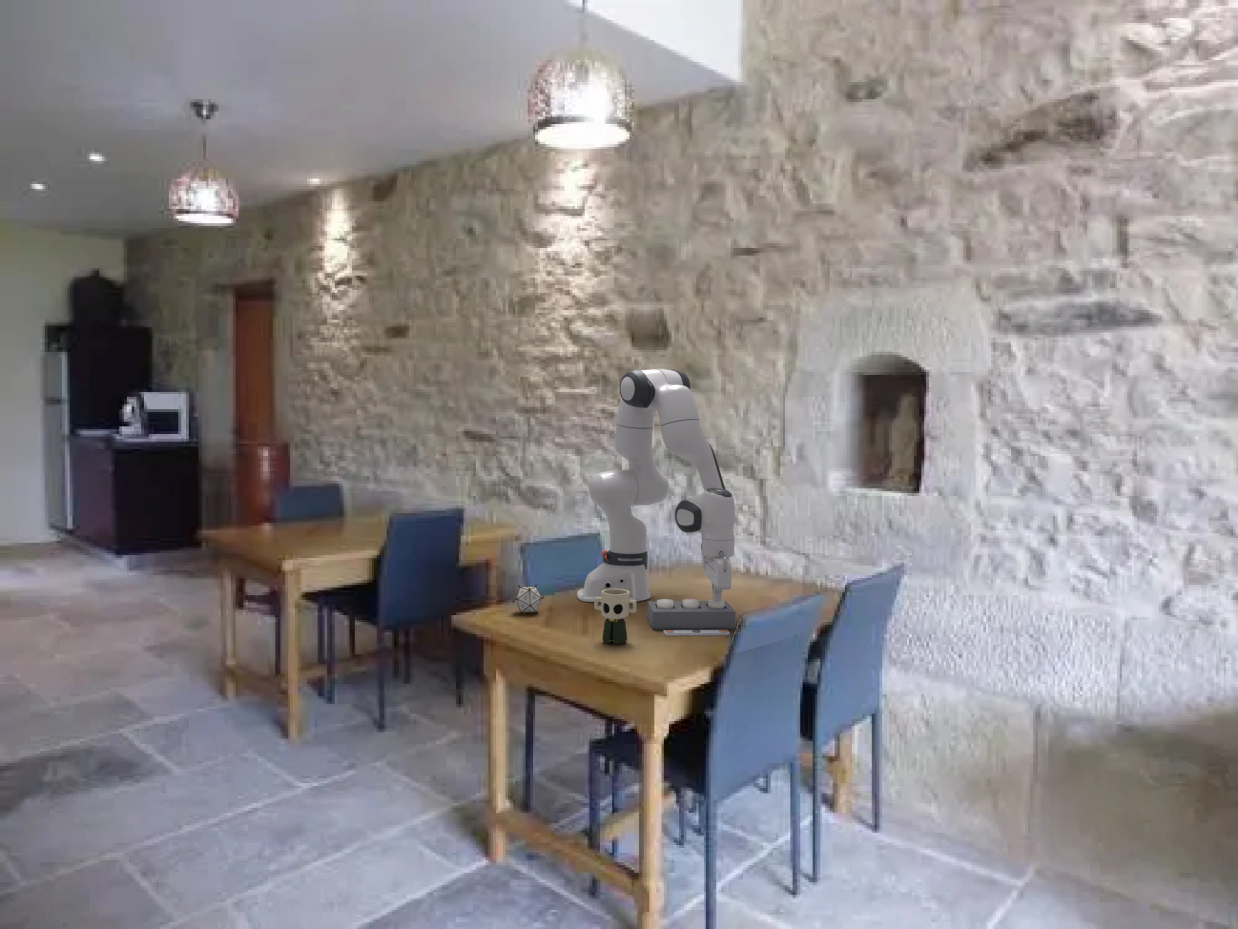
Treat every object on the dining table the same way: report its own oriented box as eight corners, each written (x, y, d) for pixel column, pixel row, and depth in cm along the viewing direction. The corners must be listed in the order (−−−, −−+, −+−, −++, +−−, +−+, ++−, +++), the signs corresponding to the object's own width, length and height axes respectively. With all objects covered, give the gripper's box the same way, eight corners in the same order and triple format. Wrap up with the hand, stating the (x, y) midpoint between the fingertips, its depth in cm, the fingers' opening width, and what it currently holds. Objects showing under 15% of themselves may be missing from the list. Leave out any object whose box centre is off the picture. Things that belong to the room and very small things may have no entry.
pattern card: (664, 635, 231) (664, 632, 231) (663, 632, 234) (663, 629, 234) (729, 635, 232) (729, 632, 232) (727, 632, 235) (727, 629, 235)
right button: (709, 613, 240) (709, 602, 240) (706, 609, 245) (706, 598, 245) (725, 613, 241) (726, 602, 241) (722, 609, 245) (722, 598, 245)
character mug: (589, 644, 222) (590, 592, 221) (597, 637, 229) (598, 586, 228) (632, 648, 219) (633, 596, 218) (639, 640, 226) (640, 590, 225)
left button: (658, 613, 239) (658, 602, 239) (655, 609, 244) (656, 599, 243) (674, 613, 240) (674, 602, 239) (671, 609, 244) (672, 599, 244)
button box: (652, 630, 236) (653, 611, 235) (647, 619, 247) (647, 601, 247) (735, 630, 238) (735, 611, 237) (725, 618, 249) (726, 601, 249)
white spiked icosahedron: (520, 626, 252) (500, 597, 253) (542, 611, 257) (523, 582, 258) (533, 617, 245) (512, 587, 246) (555, 602, 250) (535, 572, 251)
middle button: (683, 613, 240) (684, 602, 240) (681, 609, 244) (681, 599, 244) (700, 613, 240) (700, 602, 240) (697, 609, 245) (697, 598, 244)
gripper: (737, 555, 231) (736, 608, 232) (722, 542, 252) (721, 591, 253) (713, 555, 231) (712, 608, 232) (699, 542, 251) (698, 591, 252)
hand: (716, 599), depth 242 cm, fingers closed
